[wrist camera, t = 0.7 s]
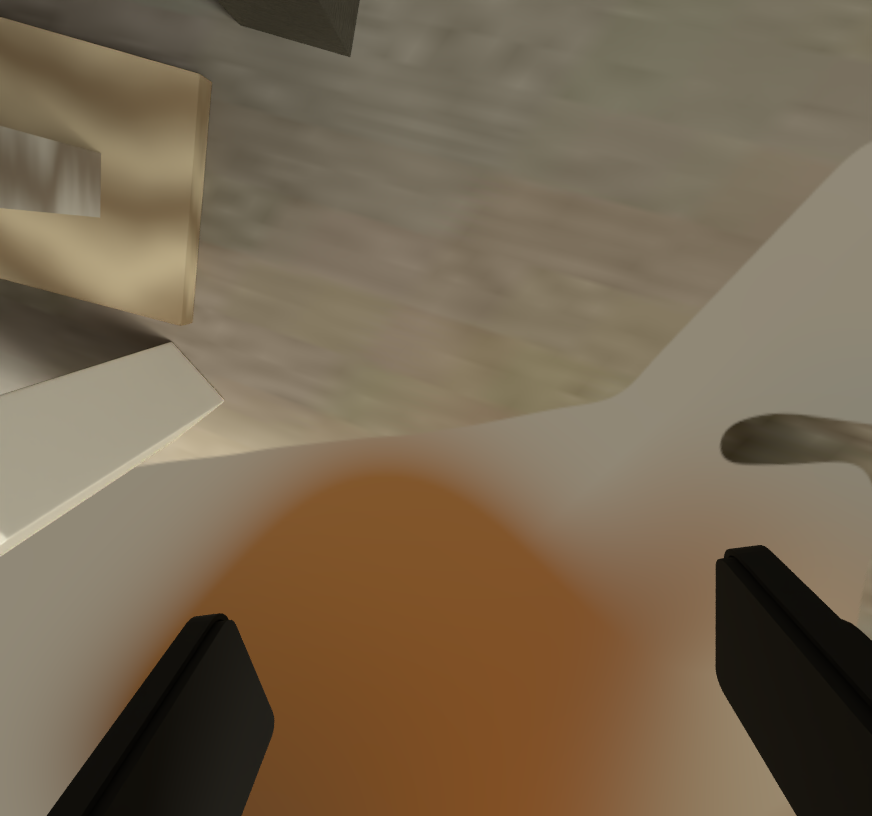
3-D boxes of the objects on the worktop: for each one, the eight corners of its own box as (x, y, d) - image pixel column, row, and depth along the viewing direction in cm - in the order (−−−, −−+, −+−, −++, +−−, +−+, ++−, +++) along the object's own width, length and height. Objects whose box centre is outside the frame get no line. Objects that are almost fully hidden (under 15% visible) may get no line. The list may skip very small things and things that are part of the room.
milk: (172, 340, 35) (-238, 462, 14) (227, 401, 37) (-75, 592, 16) (121, 384, 37) (-322, 555, 16) (175, 441, 38) (-166, 667, 17)
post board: (-38, 11, 29) (-260, -97, 20) (211, 82, 30) (105, 8, 21) (-20, 267, 34) (-191, 272, 25) (192, 322, 35) (99, 347, 26)
